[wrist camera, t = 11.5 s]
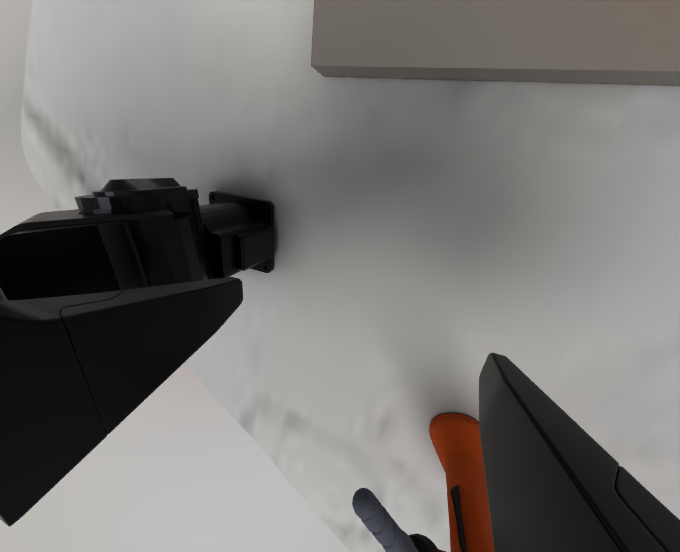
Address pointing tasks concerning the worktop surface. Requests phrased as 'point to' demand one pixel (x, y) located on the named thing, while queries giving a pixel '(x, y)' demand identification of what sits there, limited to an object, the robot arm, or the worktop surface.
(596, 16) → the grey peg board
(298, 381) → the worktop surface
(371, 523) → the toy drill
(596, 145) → the worktop surface
